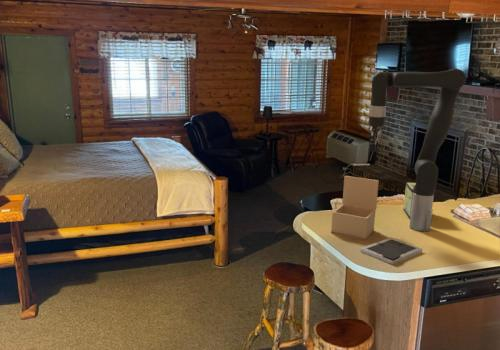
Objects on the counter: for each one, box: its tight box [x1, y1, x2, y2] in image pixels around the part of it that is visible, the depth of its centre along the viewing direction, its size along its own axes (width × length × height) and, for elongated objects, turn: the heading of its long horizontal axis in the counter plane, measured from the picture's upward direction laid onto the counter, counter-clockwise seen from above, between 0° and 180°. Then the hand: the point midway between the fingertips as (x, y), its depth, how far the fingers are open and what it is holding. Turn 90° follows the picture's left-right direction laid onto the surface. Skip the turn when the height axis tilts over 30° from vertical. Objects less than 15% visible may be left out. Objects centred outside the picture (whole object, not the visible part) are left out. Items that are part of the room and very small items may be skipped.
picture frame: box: [359, 237, 423, 265], centre depth 199 cm, size 16×3×21 cm
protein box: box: [403, 181, 416, 220], centre depth 245 cm, size 10×16×16 cm
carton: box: [330, 204, 377, 241], centre depth 220 cm, size 16×14×10 cm
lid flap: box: [341, 175, 380, 210], centre depth 226 cm, size 16×14×7 cm
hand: (374, 150), depth 228 cm, fingers open, 4 cm apart
